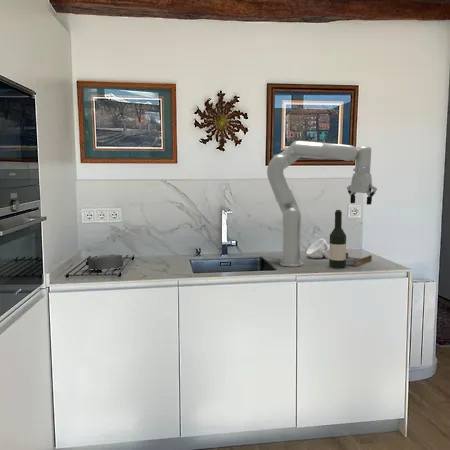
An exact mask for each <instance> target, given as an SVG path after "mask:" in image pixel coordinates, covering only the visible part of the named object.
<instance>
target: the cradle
mask: <svg viewBox="0 0 450 450" xmlns="http://www.w3.org/2000/svg"><path fill="white" fill-rule="evenodd" d="M372 257H373V256H372V255H367V256H364V257H361V258H359V257H354V256H353V257H351V256H349V252H346V266H347V267H355V268H357V267H359V266H361V265H364V264H365V265H366V264H367V263H371V262H372V261H373V260H372V259H373V258H372Z"/></svg>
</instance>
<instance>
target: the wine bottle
mask: <svg viewBox="0 0 450 450" xmlns="http://www.w3.org/2000/svg"><path fill="white" fill-rule="evenodd" d="M342 215H343V213H342V211H341V209H336V210H335V211H334V228H333V229H332V231H331V232H330V234H329V245H330V246H329V248H330V252H329V258H328V259H329V260H328V261H329V263H328V264H329V266H328V267H330V268H331V269H345V268H346V266H347V265H346V253H347V235H346V233H345V231H344V229H343V228H342V224H343V223H342V220H343V219H342Z"/></svg>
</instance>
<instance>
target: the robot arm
mask: <svg viewBox="0 0 450 450" xmlns="http://www.w3.org/2000/svg"><path fill="white" fill-rule="evenodd" d="M300 158H303V159H304V158H305V159H315V160H316V159H317V160H326V159H327V160H328V159H329V160H331V159H332V160H343V161H347V162H350V161H355V167H354V168H353V169H352V170H353V173H352V177H351V183H350V184H349V186H347V187H346V189H347V192H348V194H349V196H350V201H349V202H350V204H355V203H356V194H357V193H362V194H366V195H367V197H366V205H372V201H373V200H372V198H373V196H374V195H375V194H376V192H377V190H378V188H377V187H375V186H374V185H373V177H372V174H371V165H372V164H371V163H372V162H371V161H372V148H371V147H369V146H354V145H351V144H350V145H349V144H338V143H328V142H320V141H309V140H308V141H306V140H294V141H293V142H292V143H291V144H290V145H289V146H288V147H287V148H286V149H284V150H283V151H282V152H280V153H278V154H275V155H273V157H272V158H271V159H270V161H269V163H268V165H267V170H266V175H267V179H268V182H269V185H270V188H271V190H272V192H273V195H274V198H275V201H276V202H277V204H278V206H279V208H280V211H281V213H282V255H277V257H276V259H277V260H280V262H279V265H280V266H283V267H289V268H290V267H293V268H295V267H302V266H303V265H304V262H303V261H301V245H302V244H301V243H302V242H301V240H302V239H301V237H302V236H301V235H302V234H301V232H302V230H301V229H302V227H301V225H302V213H301V210H300V207H299V206H298V203H297V200H296V198H295V196H294V193H293V191H292V190H291V188H290V187H289V185H288V182H287V179H286V177H285V175H284V174H285V173H284V170H286V169H287V168H288V167H290V165H292V164H294V163H295V162H297V160H299V159H300Z"/></svg>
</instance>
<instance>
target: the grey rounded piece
mask: <svg viewBox="0 0 450 450" xmlns="http://www.w3.org/2000/svg"><path fill="white" fill-rule="evenodd" d="M85 266H88V270H89V269H97V270H96V271H98V270H103V269H111V268H119V267H121V268H123V266H124V259H123V257H122V255H120V254H103V255H100V256H93V257H88V258H87V260H86V261H85Z"/></svg>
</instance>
